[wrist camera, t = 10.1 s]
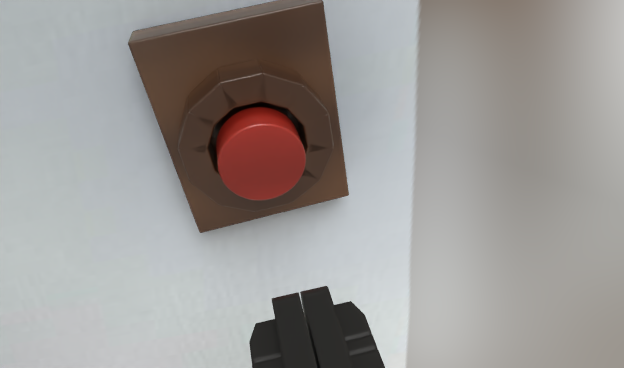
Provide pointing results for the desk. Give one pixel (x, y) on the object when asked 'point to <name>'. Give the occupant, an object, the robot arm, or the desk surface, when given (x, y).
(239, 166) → the button
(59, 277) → the desk surface
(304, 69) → the button block
